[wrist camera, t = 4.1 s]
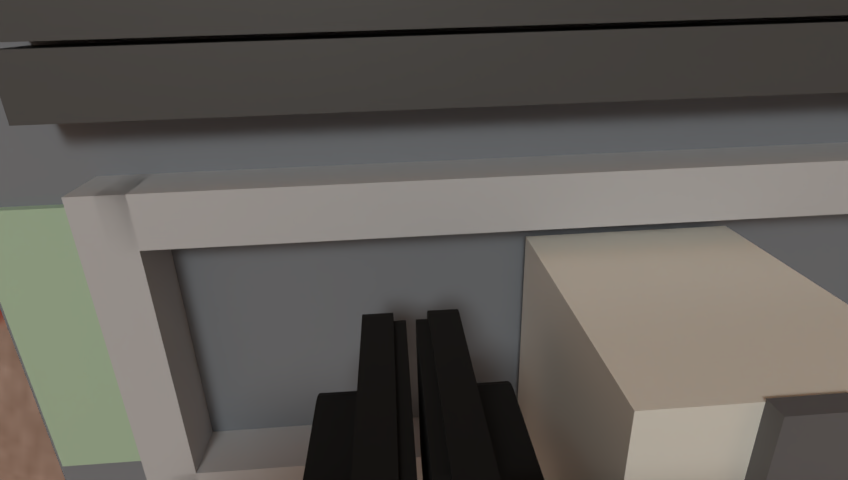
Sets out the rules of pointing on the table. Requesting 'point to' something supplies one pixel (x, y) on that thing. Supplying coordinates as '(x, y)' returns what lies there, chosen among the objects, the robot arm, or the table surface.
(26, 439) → the table surface
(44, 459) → the table surface
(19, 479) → the table surface
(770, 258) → the toggle
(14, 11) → the panel
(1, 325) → the table surface
